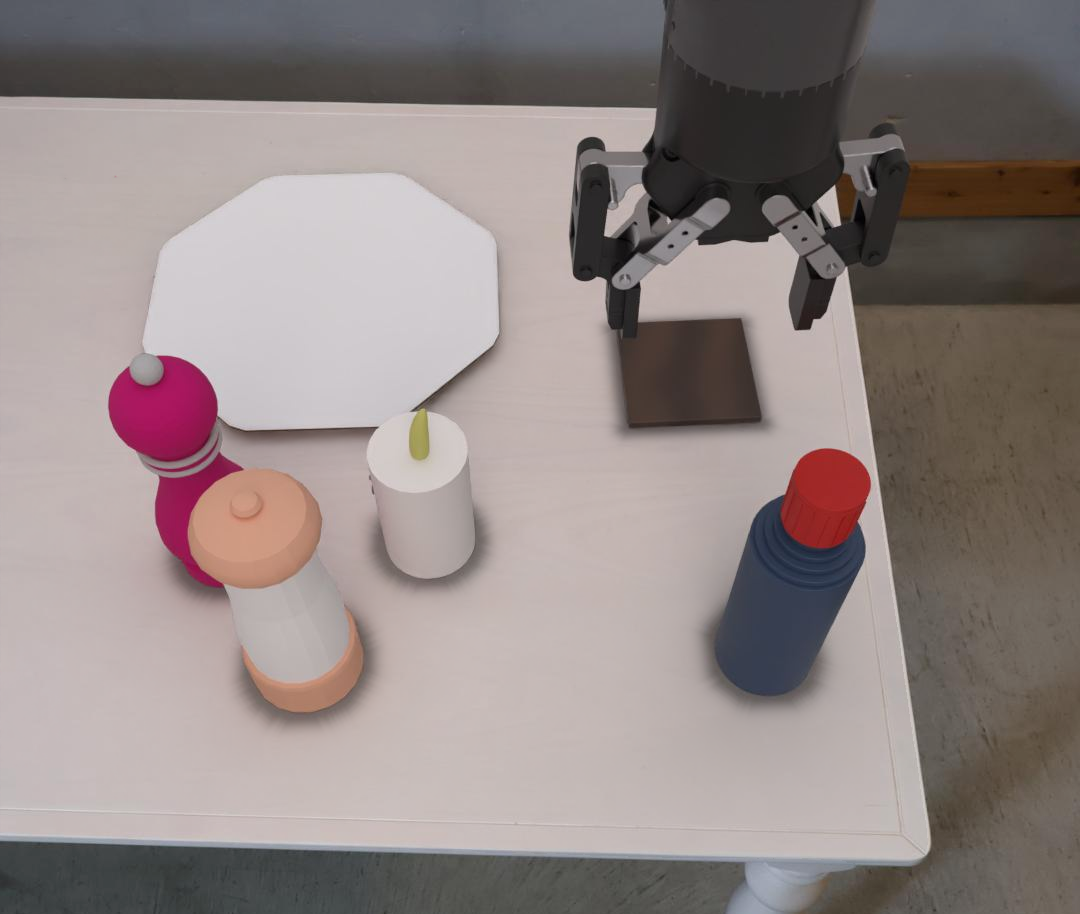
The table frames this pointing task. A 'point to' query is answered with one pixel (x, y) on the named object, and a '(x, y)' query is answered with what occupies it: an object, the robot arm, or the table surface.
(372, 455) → the candle
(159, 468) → the pepper mill
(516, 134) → the table surface
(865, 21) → the robot arm
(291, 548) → the pepper shaker
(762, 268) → the table surface
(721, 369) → the coaster
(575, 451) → the table surface
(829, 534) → the cap
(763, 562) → the bottle
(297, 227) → the plate
